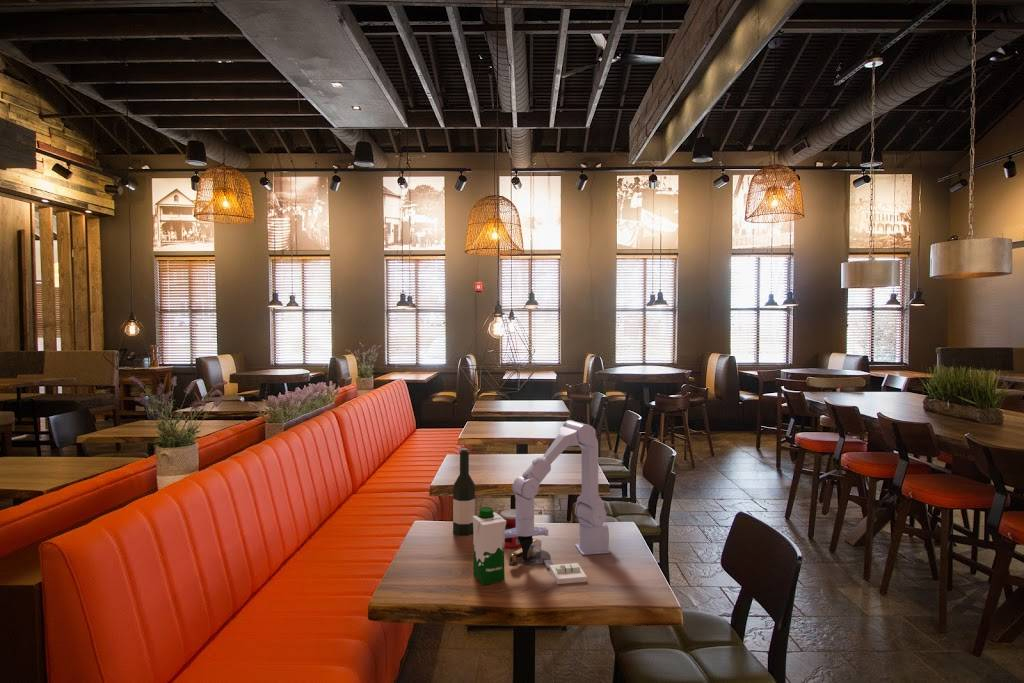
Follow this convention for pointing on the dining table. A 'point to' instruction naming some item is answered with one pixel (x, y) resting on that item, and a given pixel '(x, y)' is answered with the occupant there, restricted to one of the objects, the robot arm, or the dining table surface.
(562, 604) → the dining table surface
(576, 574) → the stand board
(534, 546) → the round-headed metal tool
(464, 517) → the wine bottle
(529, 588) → the dining table surface
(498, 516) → the milk carton
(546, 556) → the dial base
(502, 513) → the canned food
